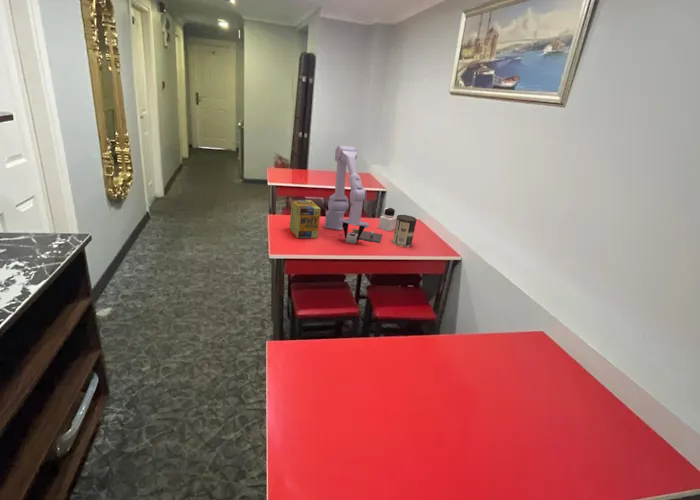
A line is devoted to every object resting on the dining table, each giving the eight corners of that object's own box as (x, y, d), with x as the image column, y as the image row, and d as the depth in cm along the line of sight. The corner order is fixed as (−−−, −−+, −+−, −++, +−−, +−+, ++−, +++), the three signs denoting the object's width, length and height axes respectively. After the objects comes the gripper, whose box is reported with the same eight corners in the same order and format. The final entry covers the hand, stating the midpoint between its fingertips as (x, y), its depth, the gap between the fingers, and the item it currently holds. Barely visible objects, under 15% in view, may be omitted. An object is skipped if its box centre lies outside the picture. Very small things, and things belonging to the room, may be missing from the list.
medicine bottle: (394, 229, 221) (398, 209, 216) (388, 231, 215) (392, 211, 211) (383, 225, 224) (387, 206, 220) (377, 228, 218) (381, 208, 214)
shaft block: (349, 237, 198) (350, 231, 196) (353, 230, 209) (354, 224, 207) (379, 243, 196) (381, 236, 194) (382, 235, 207) (383, 229, 205)
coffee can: (408, 240, 206) (413, 215, 200) (414, 247, 196) (419, 221, 191) (389, 239, 204) (394, 213, 198) (395, 246, 194) (400, 220, 189)
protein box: (297, 238, 186) (300, 208, 180) (289, 228, 199) (291, 199, 193) (317, 238, 191) (321, 208, 185) (308, 227, 203) (311, 199, 198)
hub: (345, 242, 191) (346, 235, 189) (347, 238, 195) (348, 232, 194) (355, 244, 190) (356, 237, 189) (357, 240, 195) (358, 234, 193)
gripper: (339, 212, 184) (336, 238, 189) (369, 217, 183) (364, 244, 188) (342, 208, 191) (339, 234, 196) (370, 213, 189) (366, 239, 194)
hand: (351, 238), depth 192 cm, fingers open, 6 cm apart
